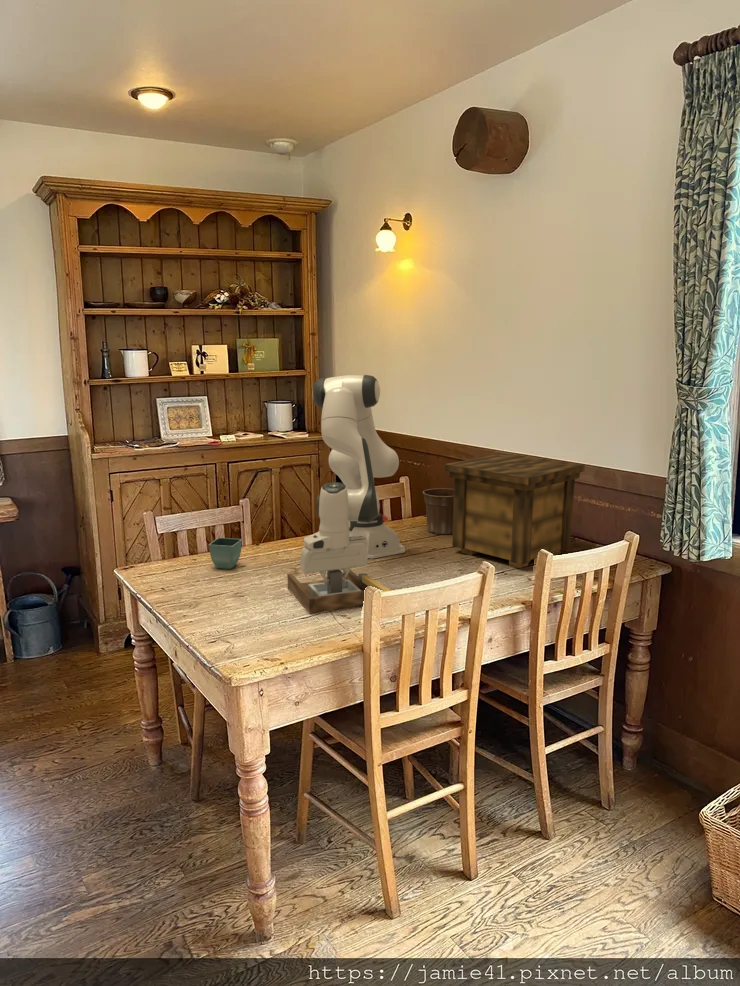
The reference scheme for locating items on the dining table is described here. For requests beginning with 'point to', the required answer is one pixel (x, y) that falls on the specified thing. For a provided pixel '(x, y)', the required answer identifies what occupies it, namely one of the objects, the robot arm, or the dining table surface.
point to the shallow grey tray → (332, 585)
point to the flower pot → (225, 552)
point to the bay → (328, 601)
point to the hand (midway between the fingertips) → (334, 583)
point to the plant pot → (439, 510)
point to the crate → (513, 506)
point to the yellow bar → (371, 582)
